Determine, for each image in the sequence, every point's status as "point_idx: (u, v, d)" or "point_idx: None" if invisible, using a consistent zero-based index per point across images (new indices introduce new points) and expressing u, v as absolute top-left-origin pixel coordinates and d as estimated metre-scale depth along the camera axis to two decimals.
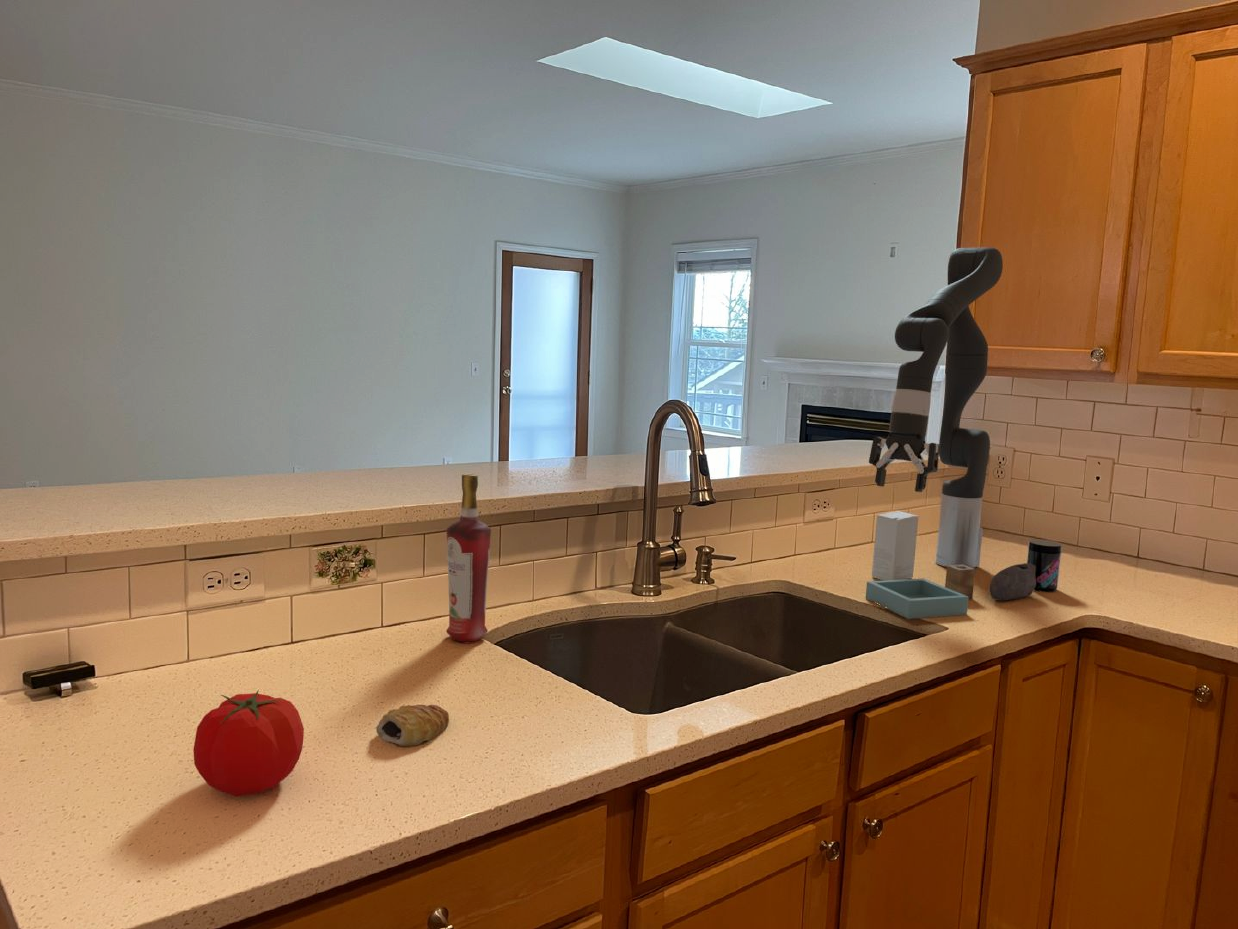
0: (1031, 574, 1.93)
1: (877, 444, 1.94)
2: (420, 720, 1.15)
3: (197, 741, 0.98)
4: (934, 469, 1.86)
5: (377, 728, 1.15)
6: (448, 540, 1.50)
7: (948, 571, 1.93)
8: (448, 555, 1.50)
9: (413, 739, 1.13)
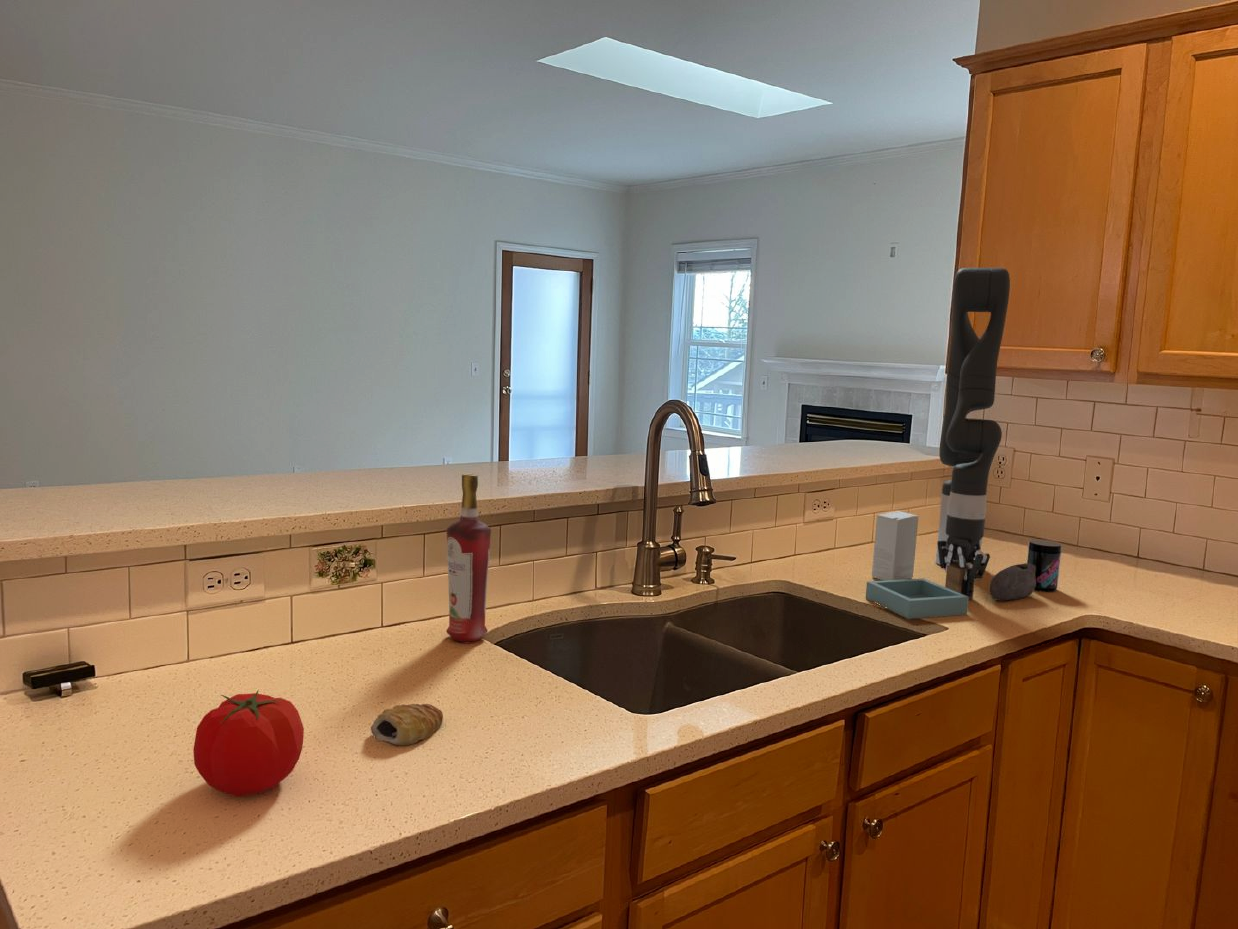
0: (1031, 574, 1.93)
1: (941, 547, 1.96)
2: (416, 719, 1.15)
3: (197, 741, 0.98)
4: (976, 578, 1.87)
5: (372, 728, 1.15)
6: (448, 540, 1.50)
7: (948, 571, 1.92)
8: (448, 555, 1.50)
9: (408, 738, 1.13)
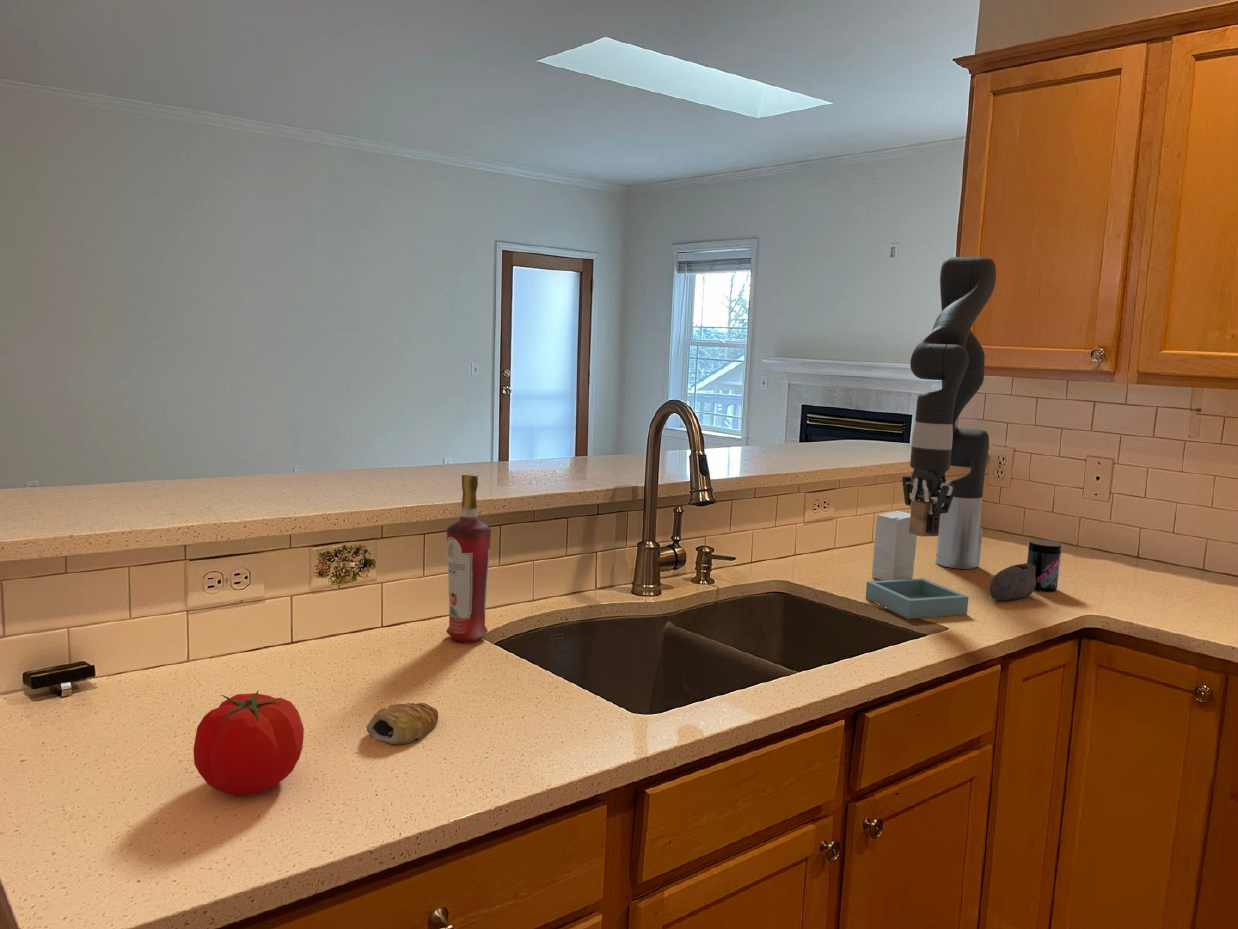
0: (1031, 574, 1.93)
1: (906, 483, 1.85)
2: (412, 718, 1.15)
3: (197, 741, 0.98)
4: (941, 511, 1.77)
5: (368, 727, 1.15)
6: (448, 540, 1.50)
7: (913, 506, 1.82)
8: (448, 555, 1.50)
9: (405, 737, 1.13)
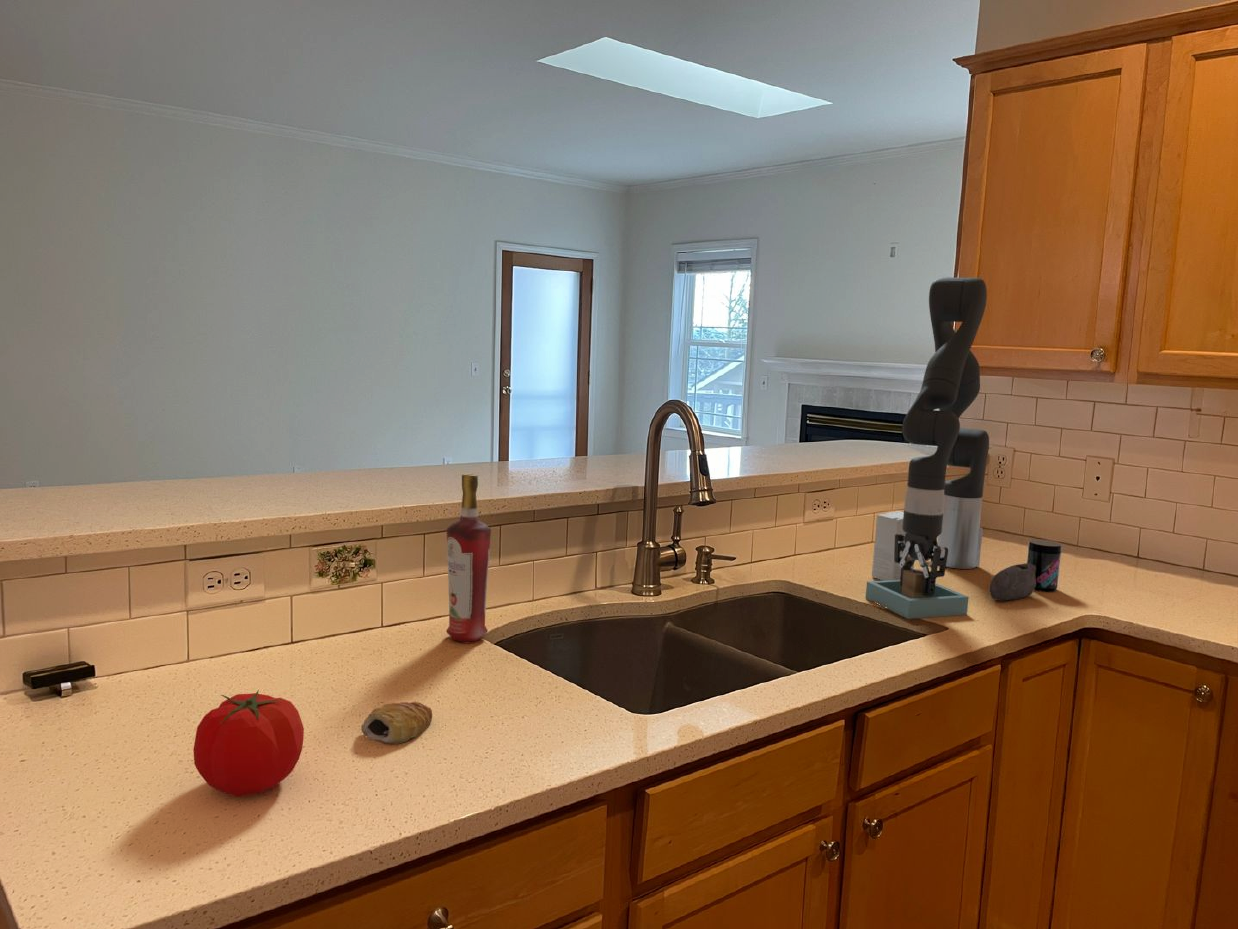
0: (1031, 574, 1.93)
1: (898, 542, 1.87)
2: (407, 717, 1.15)
3: (197, 741, 0.98)
4: (938, 575, 1.77)
5: (362, 727, 1.16)
6: (448, 540, 1.50)
7: (905, 576, 1.84)
8: (448, 555, 1.50)
9: (401, 736, 1.14)
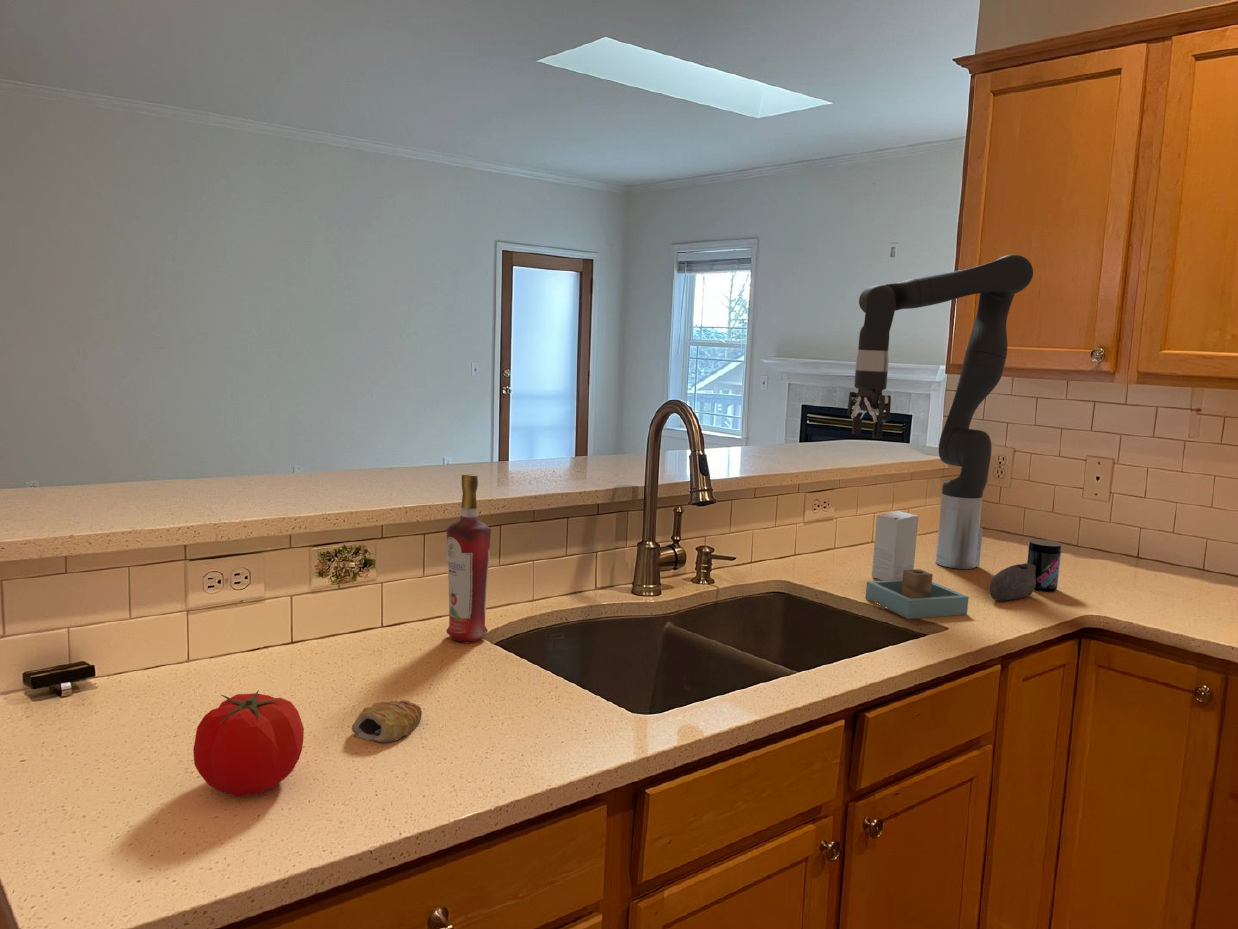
0: (1031, 574, 1.93)
1: (851, 398, 2.25)
2: (398, 716, 1.16)
3: (197, 741, 0.98)
4: (884, 418, 2.14)
5: (353, 727, 1.15)
6: (448, 540, 1.50)
7: (905, 576, 1.84)
8: (447, 555, 1.50)
9: (393, 735, 1.14)
